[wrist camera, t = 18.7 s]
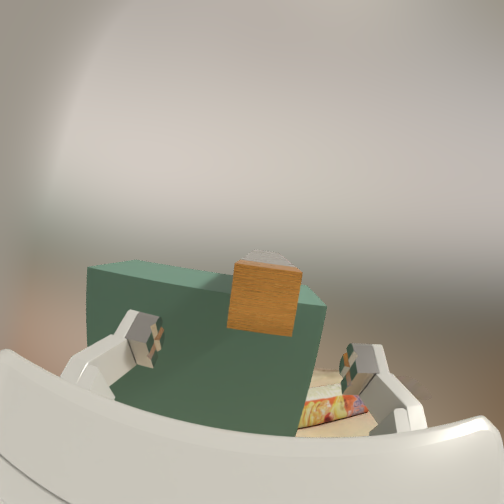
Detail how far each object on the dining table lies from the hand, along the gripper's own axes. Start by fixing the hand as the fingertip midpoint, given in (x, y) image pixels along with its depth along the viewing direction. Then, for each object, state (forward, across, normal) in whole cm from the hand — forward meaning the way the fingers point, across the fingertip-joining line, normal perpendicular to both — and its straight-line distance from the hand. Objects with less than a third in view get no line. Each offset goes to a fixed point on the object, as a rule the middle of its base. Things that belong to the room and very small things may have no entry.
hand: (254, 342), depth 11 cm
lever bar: (+10, 0, +6) cm, 12 cm away
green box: (-1, +5, +29) cm, 30 cm away
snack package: (+14, -16, +39) cm, 44 cm away
